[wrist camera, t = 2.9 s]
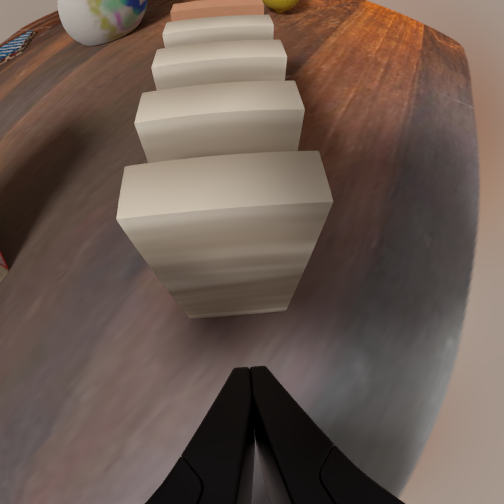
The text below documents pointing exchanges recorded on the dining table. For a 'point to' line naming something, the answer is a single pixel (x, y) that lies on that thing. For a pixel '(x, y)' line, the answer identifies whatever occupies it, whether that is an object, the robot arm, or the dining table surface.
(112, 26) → the decorative egg
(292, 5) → the lemon
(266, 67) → the domino
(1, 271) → the stack of blocks
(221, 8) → the domino
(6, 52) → the woven mat
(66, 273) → the dining table surface
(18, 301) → the dining table surface
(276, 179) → the domino
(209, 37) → the domino
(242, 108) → the domino
